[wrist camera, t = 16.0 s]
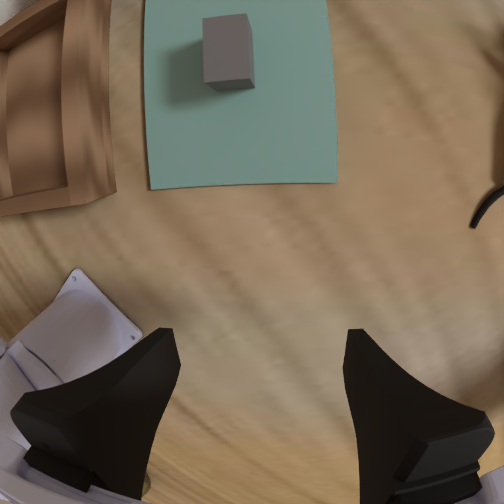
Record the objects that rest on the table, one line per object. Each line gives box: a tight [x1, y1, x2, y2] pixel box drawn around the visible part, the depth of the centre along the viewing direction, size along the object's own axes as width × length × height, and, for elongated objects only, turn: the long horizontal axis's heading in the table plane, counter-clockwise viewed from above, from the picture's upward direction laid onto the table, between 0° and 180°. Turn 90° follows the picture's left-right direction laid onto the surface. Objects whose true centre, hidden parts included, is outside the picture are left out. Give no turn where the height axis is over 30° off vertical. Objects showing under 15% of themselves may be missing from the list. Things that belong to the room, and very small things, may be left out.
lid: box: [144, 0, 337, 190], centre depth 15 cm, size 16×12×4 cm
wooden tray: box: [0, 0, 117, 217], centre depth 14 cm, size 24×12×5 cm, turn 3°
